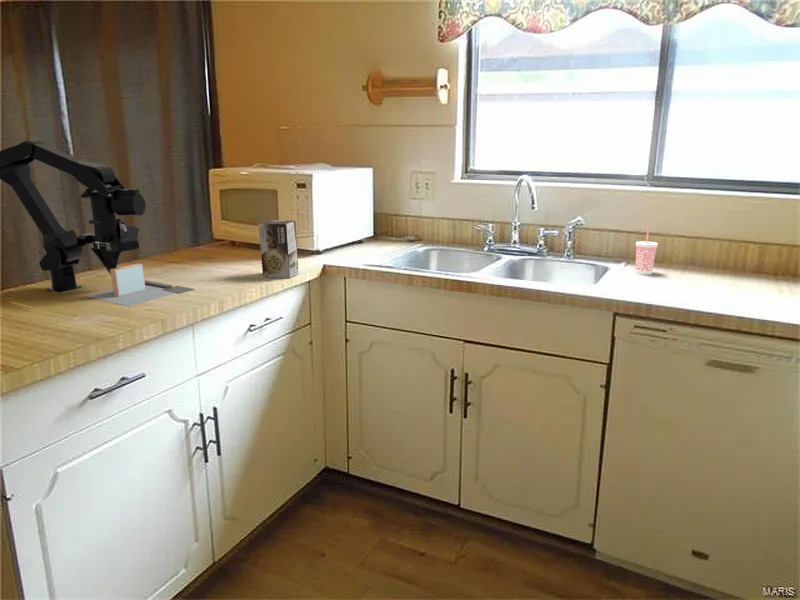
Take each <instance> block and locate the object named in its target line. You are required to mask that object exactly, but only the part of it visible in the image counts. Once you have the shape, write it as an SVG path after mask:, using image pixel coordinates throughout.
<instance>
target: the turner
mask: <svg viewBox="0 0 800 600" xmlns="http://www.w3.org/2000/svg"><path fill="white" fill-rule="evenodd" d="M144 280H145V284H146V285H151V286H156V287H161V288H166V289H163V290H164V291H169V292H174V293H176V294H179V295H180V294H183V293H186V292H191V291H193V290H195V288H192V287H185V286H181V285H174V286H173V285H172V284H168V283H163V282H158V281H152V280H151V281H150V280H146V279H144Z"/></svg>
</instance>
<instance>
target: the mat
mask: <svg viewBox="0 0 800 600" xmlns="http://www.w3.org/2000/svg"><path fill="white" fill-rule="evenodd" d="M145 287H146V290H143V291H139V292H135V293H131V294H127V295H124V296H120V297H118V296H114V293H113V289H109V290H104V291H102V292H97V293H94V294H89V295H86V296H85V297H87V298H92V299H95V300H100V301H103V302H108V303H112V304H113V303H114V304H118V305H122V306H126V307H131V306H132V307H133V306H134V305H138V304H142V303H145V302H149V301H153V300H157V299H161V298H165V297H169V296H171V295H172V296H173V295H176V294H177V293H174V292H169V291H164V290H163V289H166V288H161V287H156V286H151V285H146V284H145Z"/></svg>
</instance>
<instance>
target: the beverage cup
mask: <svg viewBox="0 0 800 600" xmlns="http://www.w3.org/2000/svg"><path fill="white" fill-rule="evenodd" d="M649 233H650V225H647V230H646V240H640V241H636V242H635V268H634V269H635V271H634V272H635V274H639V275H651V274H653V270H654V269H653V268H654V264H655V263H654V262H655V257H656V254H657V253H656V252H657V248H658V246H659V245H658V244H659V243H658V242H656V241H655V242H654V241H649V236H650V234H649Z"/></svg>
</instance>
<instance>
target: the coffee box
mask: <svg viewBox="0 0 800 600" xmlns="http://www.w3.org/2000/svg"><path fill="white" fill-rule="evenodd" d="M257 224H258V233H259V245H260V246H259V247H260V257H261V270H262V277H263V278H275V279H276V278H277V279H278V278H279V279H282V278H283V279H291V278H294V277H295V276H298V275H299V262H298V261H299V258H298V244H297V243H298V240H297V229H296V227H297V226H296V220H287V219H286V220H285V219H284V220H283V219H282V220H280V219H267V220H264V221H261V222H259V223H257Z"/></svg>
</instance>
